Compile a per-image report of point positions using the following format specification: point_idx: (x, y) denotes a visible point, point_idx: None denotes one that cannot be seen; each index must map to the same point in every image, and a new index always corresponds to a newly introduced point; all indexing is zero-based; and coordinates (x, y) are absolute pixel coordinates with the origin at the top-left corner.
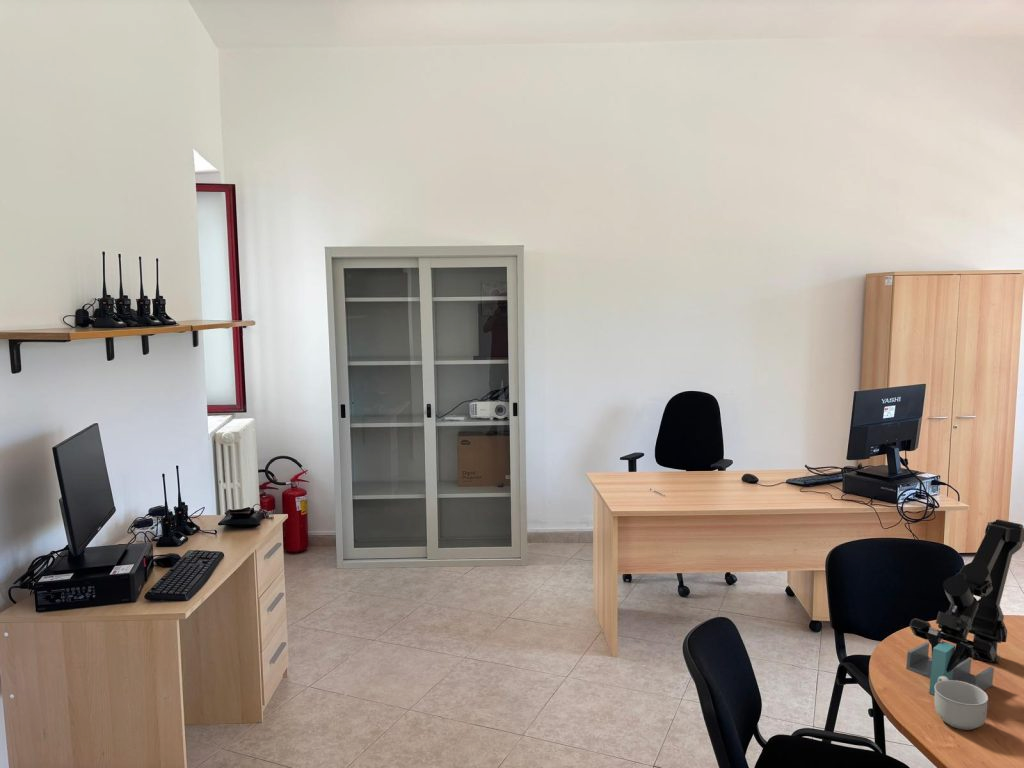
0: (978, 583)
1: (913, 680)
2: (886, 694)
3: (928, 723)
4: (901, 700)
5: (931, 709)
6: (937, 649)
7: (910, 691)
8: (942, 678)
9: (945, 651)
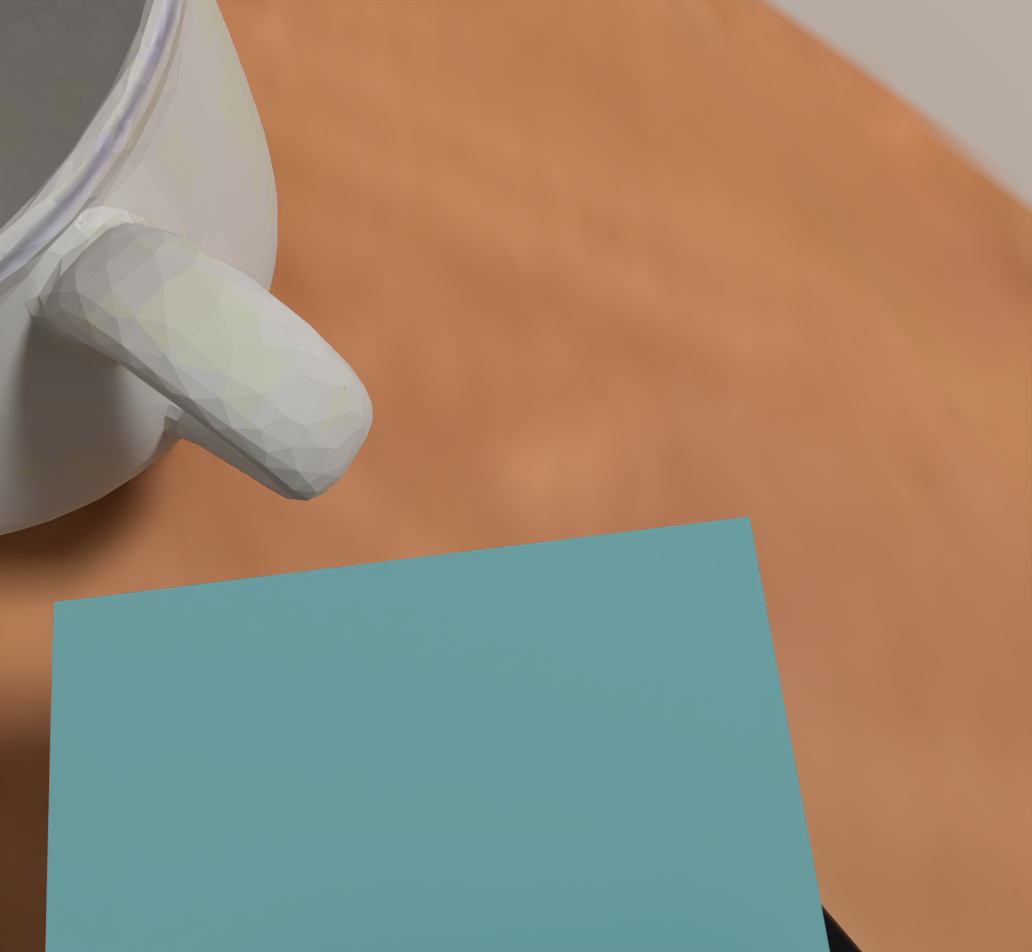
0: None
1: (997, 894)
2: (902, 159)
3: (265, 12)
4: (712, 188)
5: (385, 306)
6: (521, 571)
7: (796, 504)
8: (184, 242)
9: (130, 724)
